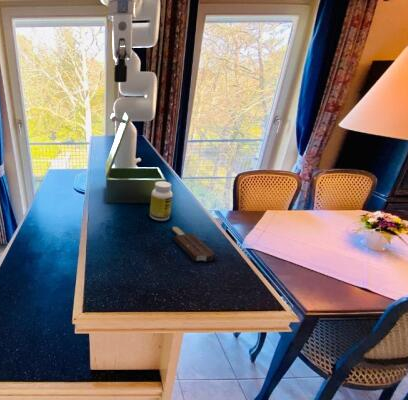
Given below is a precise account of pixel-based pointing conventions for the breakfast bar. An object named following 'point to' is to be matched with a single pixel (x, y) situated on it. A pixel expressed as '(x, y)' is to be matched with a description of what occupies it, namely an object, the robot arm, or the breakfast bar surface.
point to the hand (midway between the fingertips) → (119, 81)
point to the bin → (132, 184)
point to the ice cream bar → (193, 246)
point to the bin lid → (116, 141)
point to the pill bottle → (161, 201)
